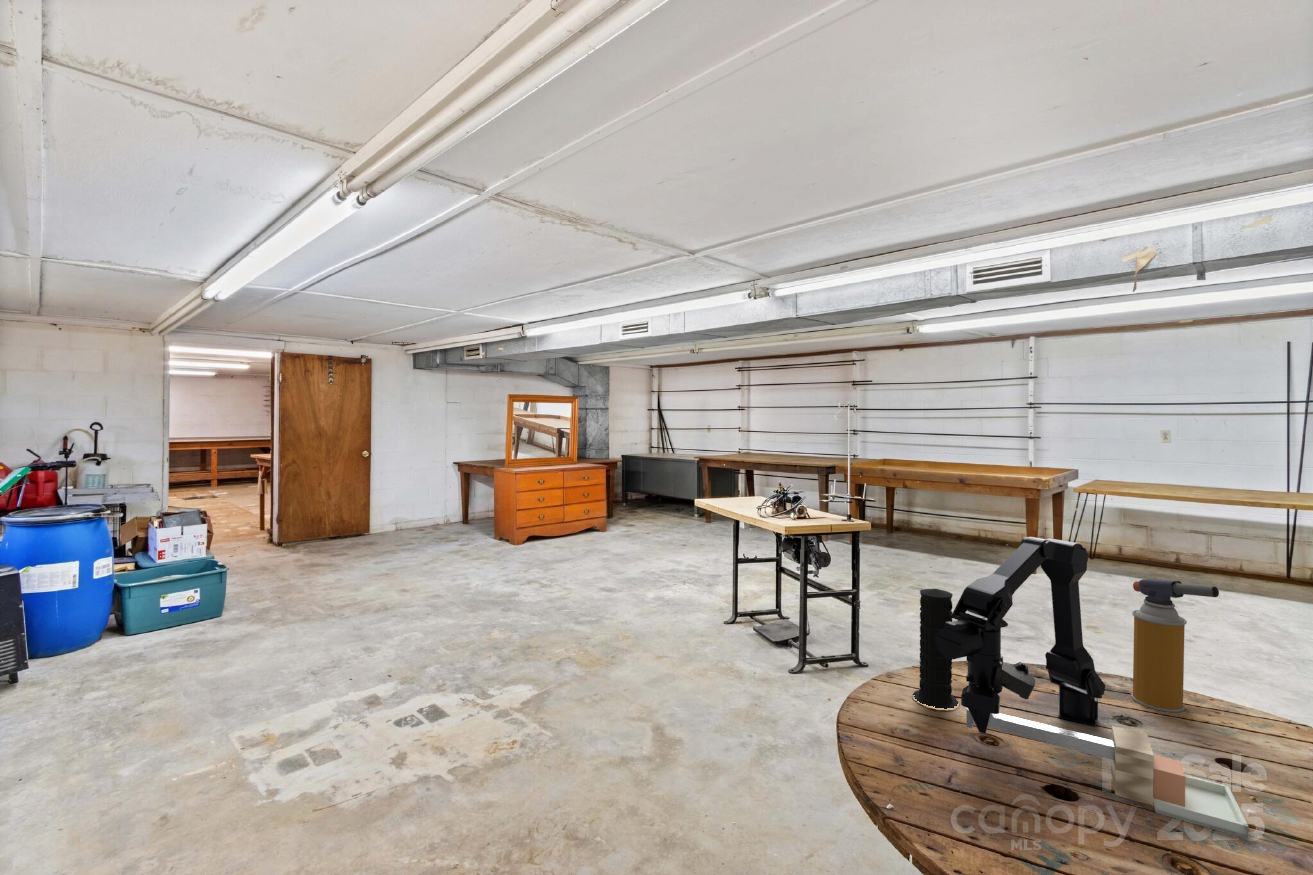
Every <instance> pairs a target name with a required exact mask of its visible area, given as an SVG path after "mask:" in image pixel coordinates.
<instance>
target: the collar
mask: <svg viewBox="0 0 1313 875" xmlns="http://www.w3.org/2000/svg"><path fill="white" fill-rule="evenodd" d="M1185 775H1186V774H1185V771H1184V768H1183V765H1182V763H1181V761H1179V760H1175V759H1171V758H1169V757H1163V756H1159V755H1156V754H1154V779H1153V798H1154V799H1158V800H1161V801H1165V802H1169V803H1172V804H1176V805H1179V806H1183V807H1185V781H1186V776H1185Z"/></svg>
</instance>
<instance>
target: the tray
mask: <svg viewBox="0 0 1313 875" xmlns="http://www.w3.org/2000/svg"><path fill="white" fill-rule="evenodd" d="M1185 776H1186V781H1185V807H1183V806H1179V805H1176V804H1172V803H1169V802H1165V801H1161V800H1158V799H1154V798H1153V808H1154V813H1156V814H1159V815H1163V816H1167V817H1170V818H1174V819H1177V820H1181V821H1183V822H1187V823H1191V824H1195V825H1198V826H1200V827H1205V828H1208V829H1212V830H1215V831H1218V832H1222V833H1225V834H1229V835H1232V836H1236V837H1239V838H1240V837H1241V838H1243V839H1246V840H1249V825H1248V822H1247V821H1246V818H1245V817H1244V814H1243V813H1242V811H1241V809H1240V807H1239V805H1238V802H1237V800H1236V798H1235V797H1234V794H1233V792H1232V791H1231V788H1230V787H1229V785H1227V784H1222V783H1218V782H1214V781H1210V780H1208V779H1203V778H1198V777H1195V776H1191V775H1187V774H1185Z"/></svg>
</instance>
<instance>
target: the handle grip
mask: <svg viewBox="0 0 1313 875" xmlns="http://www.w3.org/2000/svg"><path fill="white" fill-rule="evenodd" d="M919 594H920V598H919V604H920V608H919V611H920V612H919V619H920V621H919V624H920V626H919V632H920V634H919V638H920V639H919V646H920V647H919V651H920V652H919V678H920V679H919V689H917V690H915V691H914V692H913V693H912V695H915V696H914V697H915V699H917V701H919V702H920V703H922V704H926V705H928V706H933V707H934V706H935V708H944V709H947V708H954V706H957V704H958V702H959V701H957V700H958V699H957V698H956V697H954V696H953V694H952V692H953V687H952V683H953V680H952V678H953V672H952V669H953V666H952V664H953V660H951V659H948V658H946V657H944V656H943V655H942V654H941V653H940V651H939V650H938V648H937V646H936V641H935V636H936V635H937V633H938V631H939V630H940V629H943V628H944V626H945V622H948V621H951V622H953V618H952V617H951V615H952V613H953V611H952V610H953V602H952V598H953V593H951V592H950V591H947V590H944V589H940V588H939V589H938V588H923V589H920V591H919ZM956 699H957V700H956Z"/></svg>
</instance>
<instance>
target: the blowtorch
mask: <svg viewBox="0 0 1313 875" xmlns="http://www.w3.org/2000/svg"><path fill="white" fill-rule="evenodd" d="M1132 588H1133V590H1134V591H1135V592H1137V593H1138V592H1140V593H1141V594H1142V595H1144V596H1145V598H1144V599H1143V604H1141V606H1140V608H1139V609H1135V610H1132V616H1133V658H1132V660H1133V662H1132V663H1133V666H1132V667H1133V668H1132V675H1133V677H1132V692H1131V694H1130V697H1131V698H1132V700H1133V701H1134V702H1136V703H1137V704H1140V705H1142V706H1144V707H1147V708H1149V709H1152V710H1156V711H1161V712H1167V713H1181V712H1184V711H1185V710H1186V707H1185V705H1184V677H1185V676H1184V675H1185V674H1184V672H1185V671H1184V669H1185V667H1184V666H1185V663H1184V662H1185V625H1187V624H1188V620H1187V619H1186V618H1184V617H1183V616H1180V615H1179V612H1178V611H1177V610H1176V608H1175V607H1176V605H1175V603H1174V602H1173V601H1172V600H1171V598H1173V599H1178V598H1183V597H1184V595H1187V596H1188V595H1189V596H1198V597H1208V598H1218V597H1219V596H1220V595H1219V594H1220V590H1219V588H1218V587H1217V586H1213V585H1200V584H1190V583H1187V584H1186V583H1182V581H1180V580H1172V579H1156V578H1142V579H1140V580H1138V581H1134V582H1133V583H1132Z"/></svg>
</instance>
